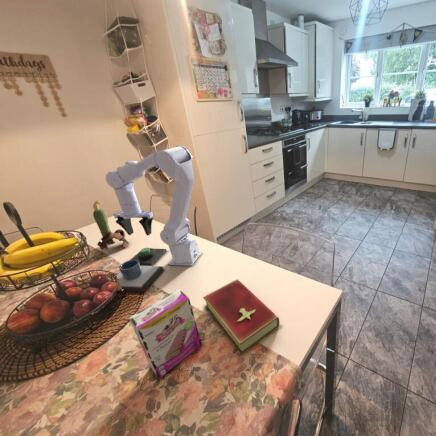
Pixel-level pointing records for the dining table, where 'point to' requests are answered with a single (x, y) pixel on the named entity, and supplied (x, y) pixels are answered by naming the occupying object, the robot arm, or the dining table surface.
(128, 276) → the cup
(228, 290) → the hardcover book
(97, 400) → the dining table surface
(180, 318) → the candy bar box
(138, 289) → the scale
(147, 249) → the button
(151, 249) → the block
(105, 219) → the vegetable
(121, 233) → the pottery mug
